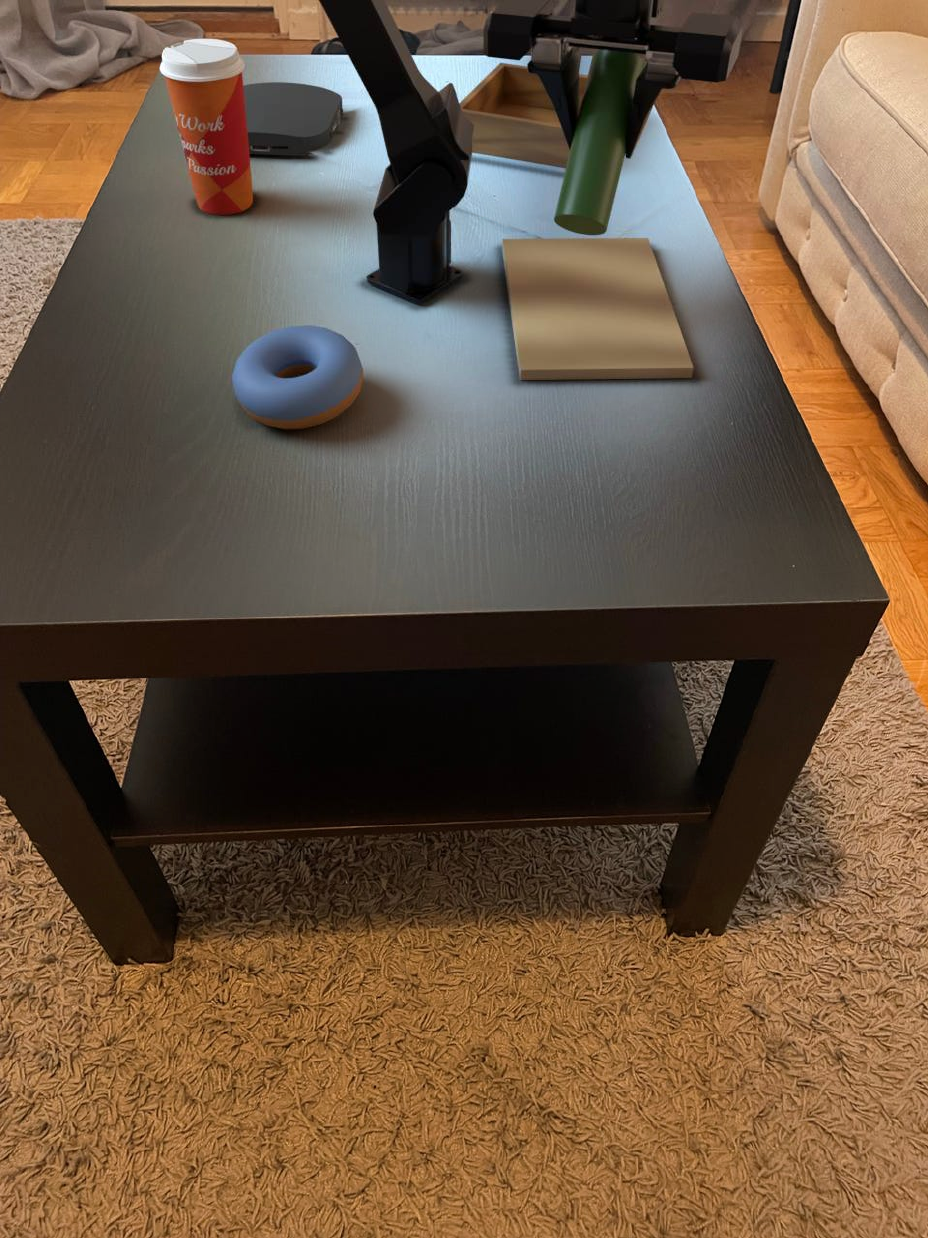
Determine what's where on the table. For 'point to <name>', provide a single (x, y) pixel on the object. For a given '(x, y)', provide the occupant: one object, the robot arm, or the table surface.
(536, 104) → the wooden box
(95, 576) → the table surface
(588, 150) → the cucumber
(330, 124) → the media streaming box
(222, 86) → the paper cup
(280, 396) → the doughnut
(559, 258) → the cutting board
